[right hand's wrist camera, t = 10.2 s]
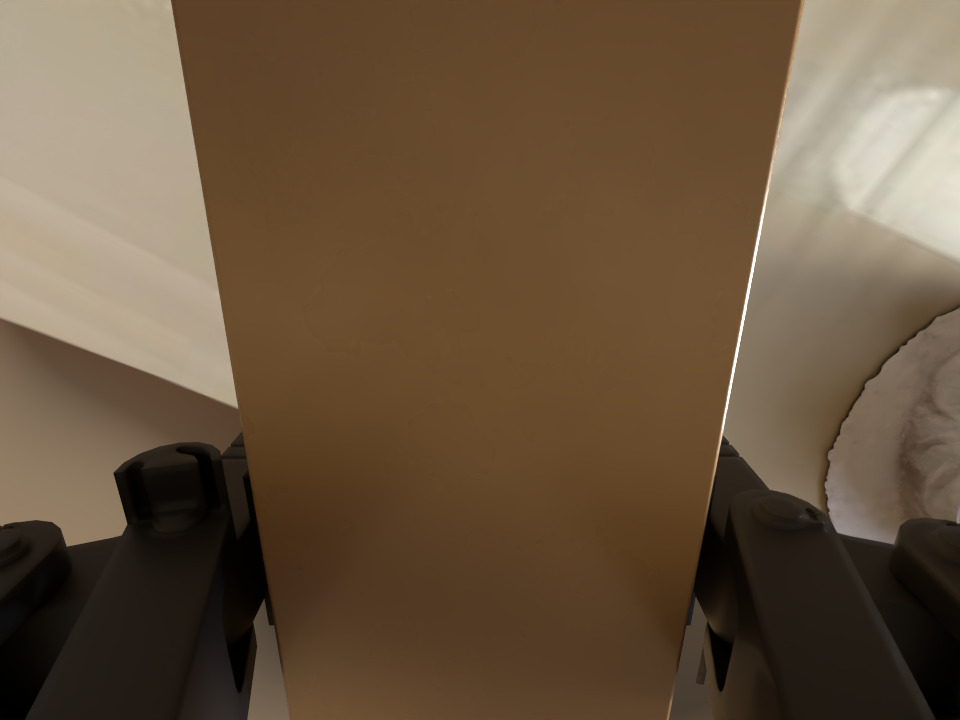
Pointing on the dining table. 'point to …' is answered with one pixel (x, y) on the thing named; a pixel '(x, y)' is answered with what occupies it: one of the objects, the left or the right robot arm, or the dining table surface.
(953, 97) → the dining table surface
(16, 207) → the dining table surface
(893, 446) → the pale stone sculpture
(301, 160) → the beam
